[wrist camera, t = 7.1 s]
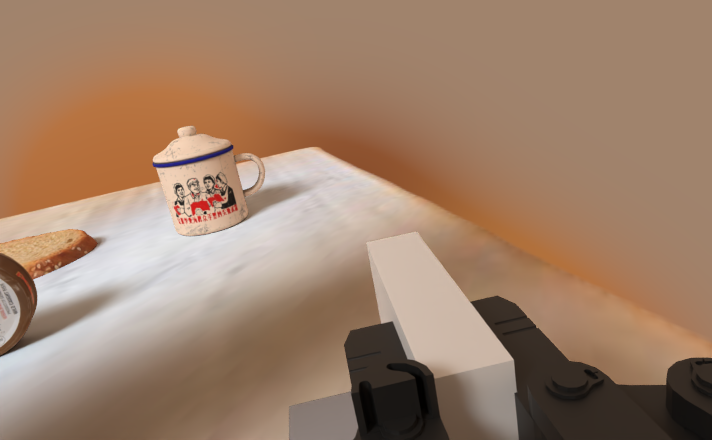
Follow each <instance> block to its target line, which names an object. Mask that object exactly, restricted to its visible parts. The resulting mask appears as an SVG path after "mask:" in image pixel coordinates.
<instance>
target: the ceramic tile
mask: <svg viewBox="0 0 712 440" xmlns="http://www.w3.org/2000/svg"><path fill="white" fill-rule="evenodd" d="M357 429H358V424H357V419H356V414H355V410H354V405H353V401H352V396H351V392H347V393H343V394H339V395H335V396H330V397H326V398H322V399H318V400H313V401H309V402H305V403H301V404H296V405H292V406H289V440H353V439H354V438H355V436H356V433H357Z"/></svg>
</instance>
